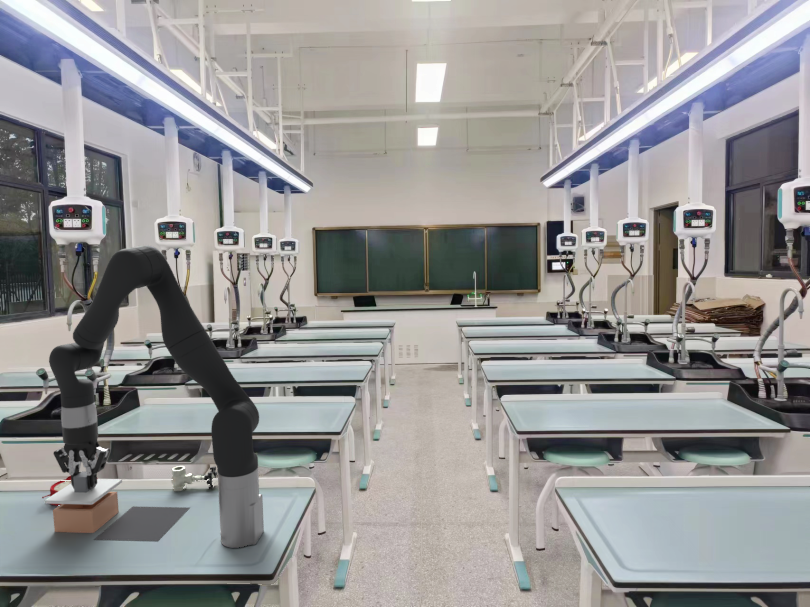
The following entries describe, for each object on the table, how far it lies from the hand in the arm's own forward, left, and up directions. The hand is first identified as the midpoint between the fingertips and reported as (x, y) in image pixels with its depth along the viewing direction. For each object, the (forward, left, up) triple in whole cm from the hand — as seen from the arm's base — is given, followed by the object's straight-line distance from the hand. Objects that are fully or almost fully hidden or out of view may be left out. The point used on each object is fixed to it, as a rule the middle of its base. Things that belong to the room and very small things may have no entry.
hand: (84, 487), depth 130 cm
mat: (-15, 0, -10) cm, 18 cm away
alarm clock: (+15, -15, -10) cm, 23 cm away
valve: (-19, -20, -10) cm, 29 cm away
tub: (0, 0, -10) cm, 10 cm away
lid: (0, 0, -1) cm, 1 cm away
